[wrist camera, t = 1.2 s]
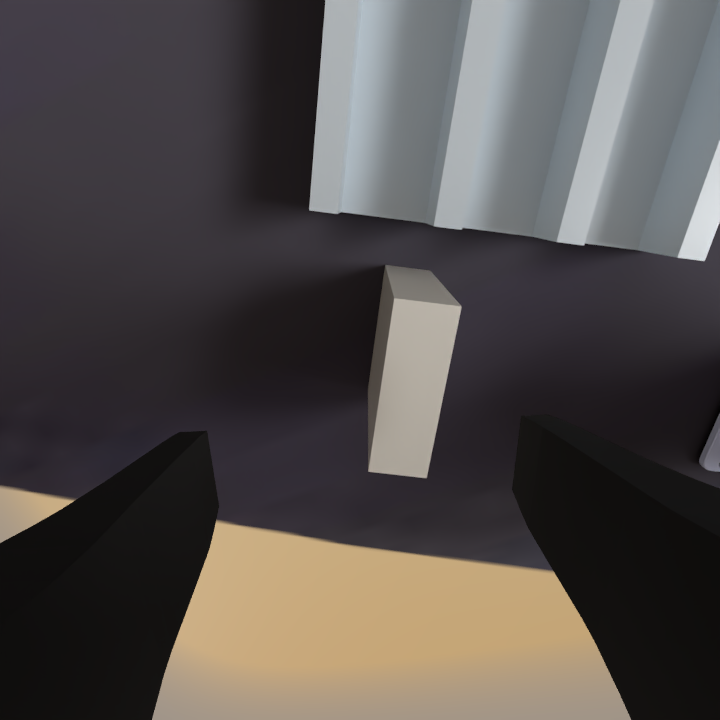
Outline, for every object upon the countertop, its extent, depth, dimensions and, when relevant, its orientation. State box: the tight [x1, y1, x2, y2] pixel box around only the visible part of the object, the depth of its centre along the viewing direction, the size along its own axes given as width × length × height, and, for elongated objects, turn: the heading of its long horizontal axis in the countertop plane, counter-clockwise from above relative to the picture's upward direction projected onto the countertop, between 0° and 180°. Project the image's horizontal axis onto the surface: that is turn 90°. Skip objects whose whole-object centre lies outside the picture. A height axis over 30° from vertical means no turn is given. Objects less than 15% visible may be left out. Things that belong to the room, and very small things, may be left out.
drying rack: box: [309, 0, 720, 261], centre depth 15 cm, size 14×11×4 cm
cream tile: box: [368, 265, 462, 478], centre depth 17 cm, size 2×6×7 cm, turn 173°
